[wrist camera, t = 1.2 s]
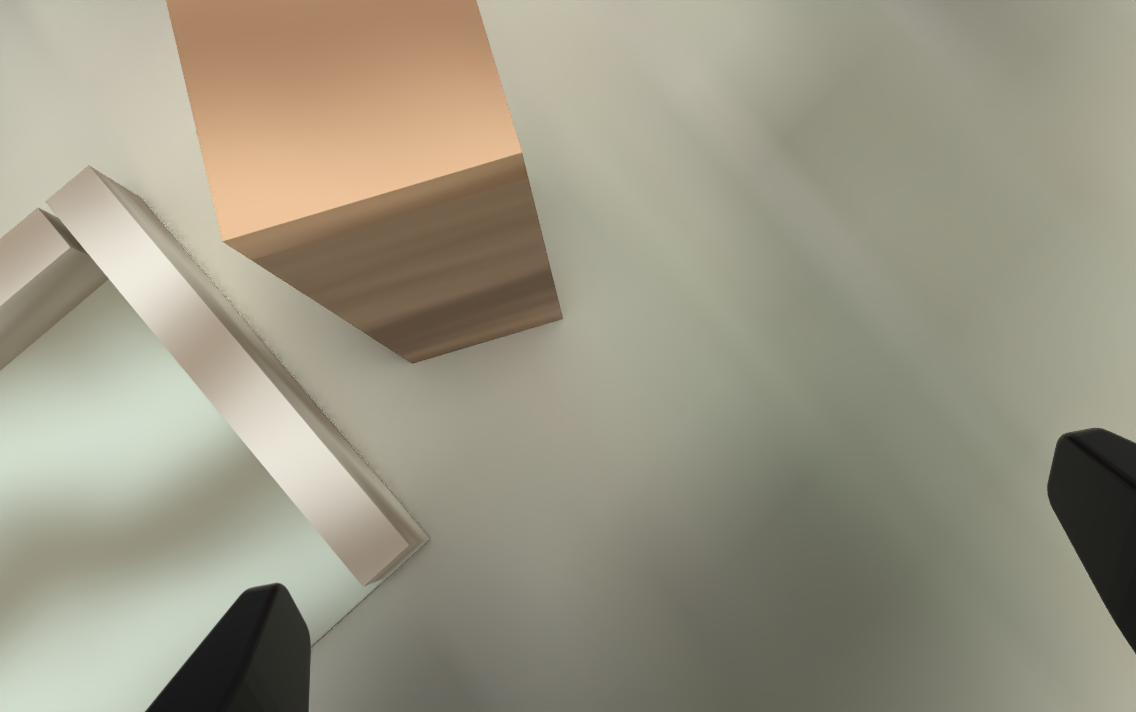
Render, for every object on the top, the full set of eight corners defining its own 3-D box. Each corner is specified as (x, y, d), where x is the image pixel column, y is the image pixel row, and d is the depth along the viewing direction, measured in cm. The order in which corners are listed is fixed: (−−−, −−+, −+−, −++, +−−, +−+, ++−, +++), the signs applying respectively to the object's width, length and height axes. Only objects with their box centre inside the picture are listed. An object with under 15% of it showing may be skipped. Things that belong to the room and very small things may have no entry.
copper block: (562, 318, 24) (522, 152, 12) (412, 363, 24) (222, 241, 12) (520, 176, 25) (441, -115, 13) (373, 219, 24) (158, -32, 13)
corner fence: (430, 539, 23) (409, 545, 20) (38, 894, 22) (-33, 945, 19) (139, 197, 25) (88, 165, 22) (-233, 509, 24) (-329, 511, 21)
